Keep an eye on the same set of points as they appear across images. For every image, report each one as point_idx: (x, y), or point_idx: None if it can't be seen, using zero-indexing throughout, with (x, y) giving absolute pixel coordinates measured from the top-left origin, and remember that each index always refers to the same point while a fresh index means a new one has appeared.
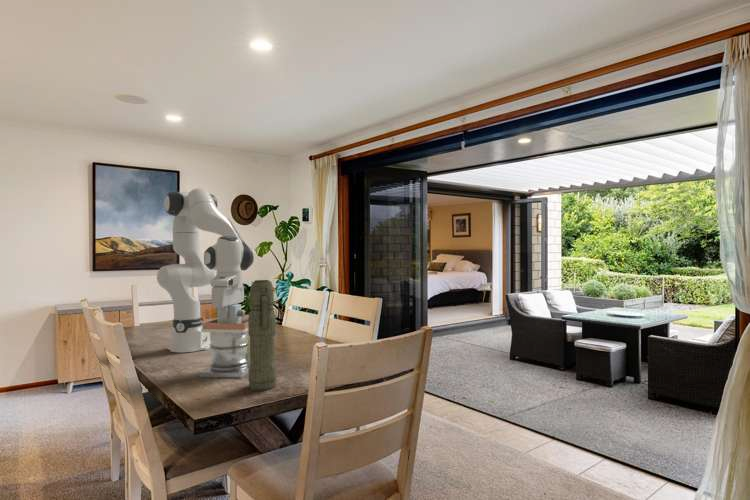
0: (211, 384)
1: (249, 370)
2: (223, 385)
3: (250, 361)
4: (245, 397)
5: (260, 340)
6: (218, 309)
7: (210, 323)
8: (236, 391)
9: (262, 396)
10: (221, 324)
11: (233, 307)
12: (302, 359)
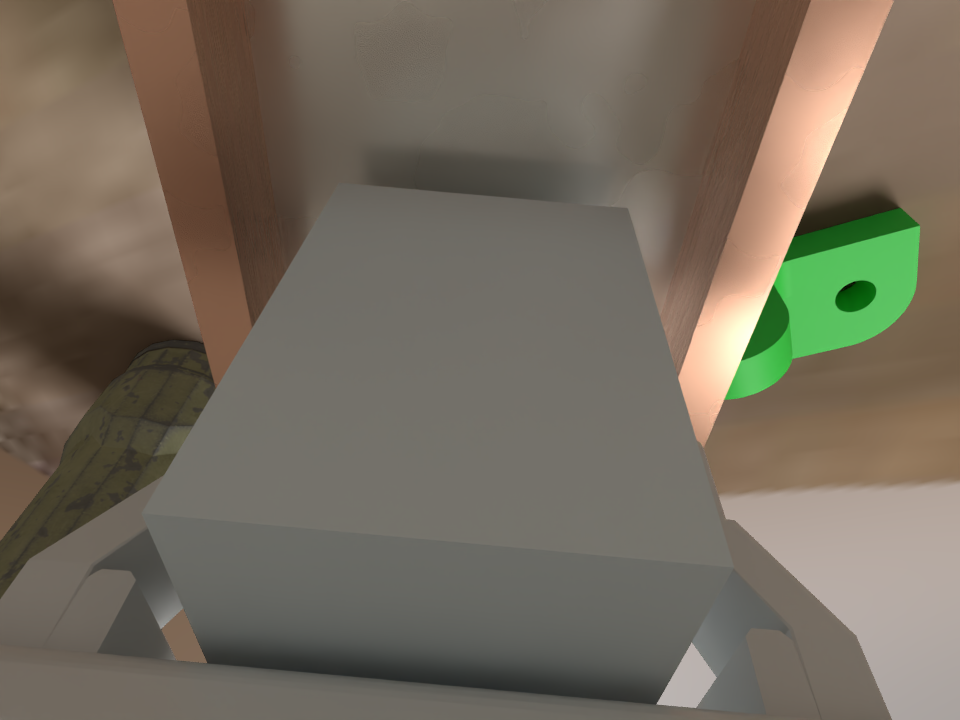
0: (130, 91)
1: (90, 417)
2: (143, 188)
3: (67, 462)
4: (18, 362)
5: None
6: (211, 440)
7: (142, 101)
8: (76, 298)
9: (68, 421)
10: (207, 322)
11: None
12: (765, 482)
